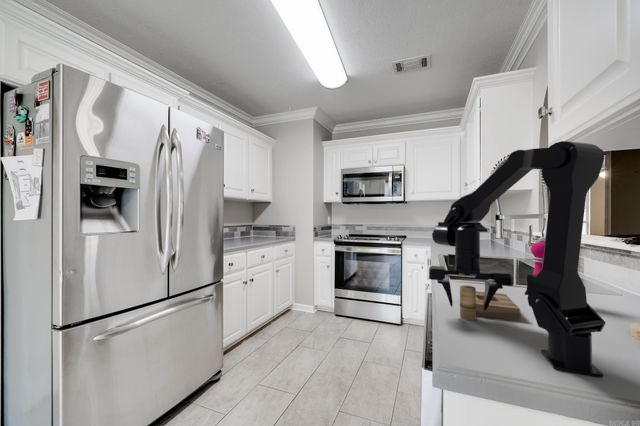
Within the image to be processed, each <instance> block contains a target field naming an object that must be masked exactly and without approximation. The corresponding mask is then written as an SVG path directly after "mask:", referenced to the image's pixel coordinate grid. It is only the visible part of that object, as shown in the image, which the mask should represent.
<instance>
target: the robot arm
mask: <svg viewBox="0 0 640 426" xmlns="http://www.w3.org/2000/svg"><path fill="white" fill-rule="evenodd" d="M604 161H605V152H604V150H603V149H602V148H600V147H599V146H597V145H596V144H593V143H587V142H576V141H567V140H566V141H565V140H564V141H563V140H562V141H558V142H554V143H553V144H551V145H549V147H541V148H530V149H517V150H514V151H512V152H511V153H509V155H508V158H507V159H506V160H505V161H504V162H503V163H502V164H501V165H499V167H497V169H496V170H495V171H494V172H492V174H490V175H489V176H488V177H487V178H486V179H485V180H484V182H482V183H481V184H480V185H479V186H478V187H477V188H476V189H475V190H474V191H472V192H471V193H468V194H465V195H463V196H461V197H460V198H458V199H457V200H456V201H454V202H452V204H451V206H450V209H449V211H448V213H447V215H446V216H445V219H444V220H443V221H442V222H441V221H438V222H437V226H436V227H434V229H433V231H432V233H431V234H432V235H431V236H432V240H433V242H434V243H435V244H437V245H439V246H440V245H441V246H447V247H448V246H449V247H454V251H455V252H454V254H452V253H451V254H450V253H449V254H447V265H448V267H453V269H454V270H452V269H451V270H450V269H446V268H445V266H440V265H439V266H438V265H431V266H429V267H428V279H429V280H432V281H436V282H437V284H440V285H441V286H442V287H443V290H444V292H445V293H446V296H447V299H448V302H449V305H450V307H452V308H453V302H454V301H453V295H452V289H451V282H450V279H449V278H456V279H467V280H478V281H480V280H481V281H484V292H485V293H484V302H483V306H484V310H485V311H486V310H487V308H488V306H489V303H490V301H491V299H492V297H493V296H494V294H495V293H497V291H499V289H500V290H503V288H504V286H505V287H514V279H513V275H512V274H511V273H509V272H508V271H507V270H499V269H489V272H483V271H482V272H481V239H480V237H481V235H480V234H481V233H487V232H488V229H487V228H486V227H485V226H484V225H483V224H482V223H481V221H483V220H484V218H485V217H486V216H487V215H488V213H490V209H491V206H492V204H493V203H494V202H496V200H498V199H499V198H501V197H502V195H503V194H505V193H506V192H507V191H509V190H510V189H511V188H512V187H513V186H514V185H516V184H517V183H518V182H519V181H521V179H523V178H524V177H525V176H526V175H528V174H529V173H530V171H532V170H541V176H542V180H543V181H544V184H545V185H546V188H547V189H548V191H549V198H548V210H547V220H546V227H545V228H546V229H545V237H544V238H545V248H544V258H543V266H542V269H541V270H540V272H539V273H538V274H533V273H532V274H530V273H529V274H527V277H526V284H527V286H526V290H525V292H524V295H525V296H527V303H528V306H529V307H531V310H532V313H533V315H534V318H535V321H536V324H537V326H538V328H540V329H543V330H545V331H546V332H547V334H548V335H547V338H548V340H547V342H548V343H547V344H548V345H547V347H548V350H547V349H540V353H541V354H542V356H543V357H544V358H545V359H546V361H547V362H548V363H549V364H550V366H551V367H553V369H556V370H559V371H565V372H571V373H577V374H582V375H589V376H593V377H594V376H595V377H599V378H600V377H601V378H603V377H604V373H603V372H602V371H601V370H600V369H599V368H597V366H595V365H594V363H593V350H592V349H593V343H592V342H593V341H592V339H593V336H592V335H593V334H592V333H596V332H597V333H601V332H602V331H603V329H604V328H605V325H606V321H605V320H604V319H603V317H602V316H600V314H598V312H597V311H595V309H593V308H592V306H591V305H590V304H589V303H588V300H587V291H586V287H585V284H584V282H583V280H582V279H581V277H580V274H579V262H580V255H581V254H580V251H581V245H582V244H581V243H582V235H583V226H584V217H585V211H586V210H585V209H586V208H585V207H586V202H587V201H586V200H587V195H588V193H589V190H590V189H591V188H592V187H593V185H594V184H595V182H597V180H598V179H599V176H600V173H601V169H602V167H603V165H604Z"/></svg>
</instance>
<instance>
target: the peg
mask: <svg viewBox="0 0 640 426" xmlns="http://www.w3.org/2000/svg"><path fill="white" fill-rule="evenodd" d="M476 291H477V289H476V287H475V286H471V285H465V284H464V285H459V317H460V318H461V319H462V320H466V321H476V320H477V315H476Z"/></svg>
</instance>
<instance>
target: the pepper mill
mask: <svg viewBox="0 0 640 426" xmlns="http://www.w3.org/2000/svg"><path fill="white" fill-rule="evenodd" d="M545 238H546V237H543V236H541V237H539V239H538V242H534V243H532V245H531V246H530V252H531V254H532V255H533V256H532V258H533V259H532V261H533V262H534V269H533V272H532V274H538V273H539V272H540V270H541V269H542V266H543V258H544V248H545Z"/></svg>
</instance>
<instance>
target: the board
mask: <svg viewBox="0 0 640 426" xmlns="http://www.w3.org/2000/svg"><path fill="white" fill-rule="evenodd" d="M484 293H485V291H479V290H478V291H477V290H476V316H481V317H490V318H497V319H504V320H514V321H521V316H520V315H521V309H520V307H519V306H518V305H517V304H516V303H515V302H514V301H513V300H512V299H511V298H510V296H508V294H507V293H501V292H500V293H499V292H498V293H497V292H496V293H495V294H494V296H493V297H492V299H491V301H490V303H489V306H488V308H487V310H486V311H485V310H484V306H483V302H484Z"/></svg>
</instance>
